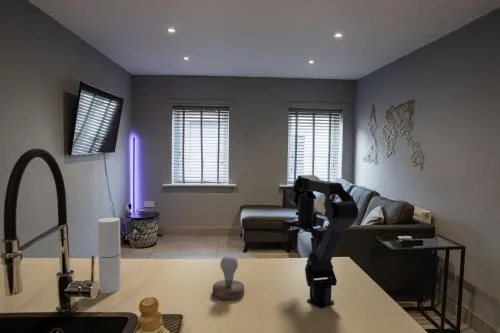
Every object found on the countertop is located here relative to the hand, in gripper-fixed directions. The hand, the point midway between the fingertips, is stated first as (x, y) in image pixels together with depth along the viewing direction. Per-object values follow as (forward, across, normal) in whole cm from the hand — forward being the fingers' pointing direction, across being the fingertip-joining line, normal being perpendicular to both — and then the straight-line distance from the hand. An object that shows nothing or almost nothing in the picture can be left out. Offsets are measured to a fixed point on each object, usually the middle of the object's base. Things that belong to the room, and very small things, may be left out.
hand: (304, 251), depth 128 cm
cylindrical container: (+13, +40, +57) cm, 71 cm away
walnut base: (+13, +12, +26) cm, 31 cm away
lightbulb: (+11, +12, +26) cm, 30 cm away
